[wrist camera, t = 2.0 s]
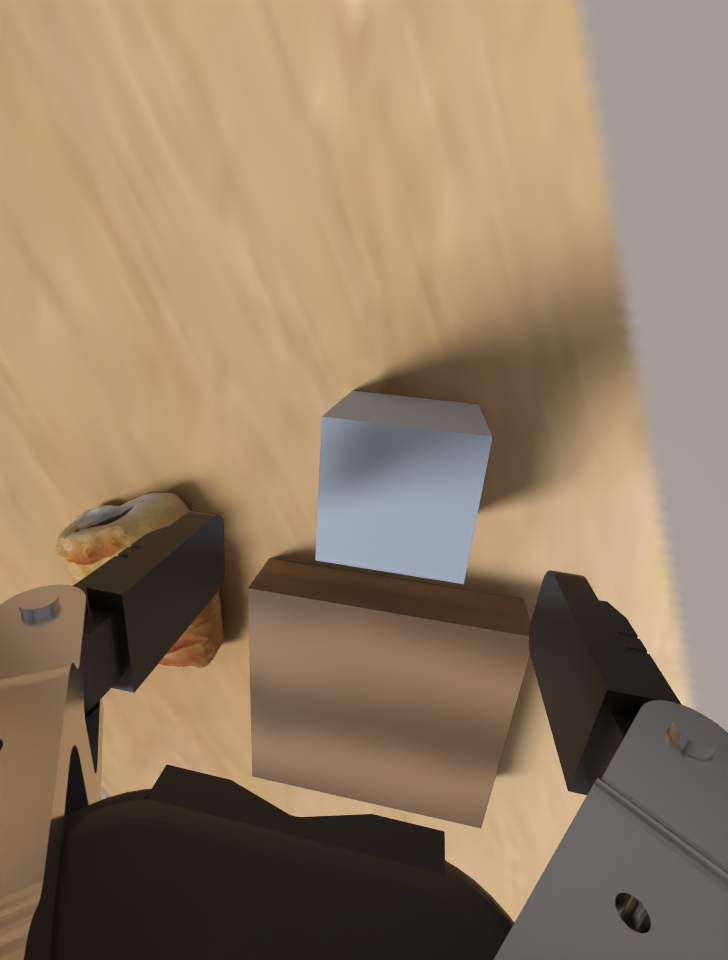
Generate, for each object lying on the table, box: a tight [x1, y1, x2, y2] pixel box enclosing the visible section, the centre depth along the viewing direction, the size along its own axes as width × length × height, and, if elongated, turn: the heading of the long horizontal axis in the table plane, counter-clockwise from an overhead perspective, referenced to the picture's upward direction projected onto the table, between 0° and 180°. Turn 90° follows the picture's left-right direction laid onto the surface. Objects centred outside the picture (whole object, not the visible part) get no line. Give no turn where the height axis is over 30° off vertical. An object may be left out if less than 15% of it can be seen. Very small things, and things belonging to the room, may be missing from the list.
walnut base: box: [248, 558, 531, 828], centre depth 21 cm, size 12×12×3 cm
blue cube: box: [315, 390, 493, 584], centre depth 16 cm, size 5×5×5 cm
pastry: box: [56, 492, 224, 668], centre depth 21 cm, size 9×7×4 cm
